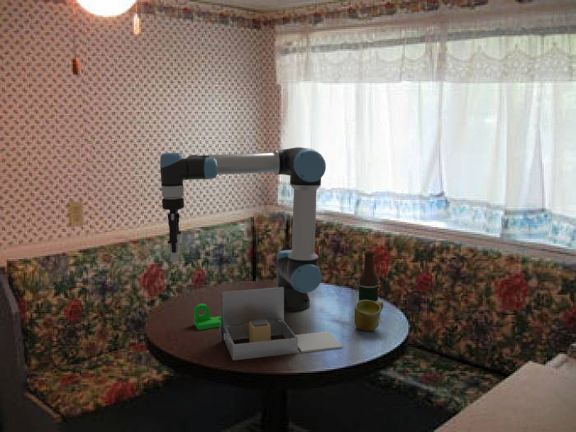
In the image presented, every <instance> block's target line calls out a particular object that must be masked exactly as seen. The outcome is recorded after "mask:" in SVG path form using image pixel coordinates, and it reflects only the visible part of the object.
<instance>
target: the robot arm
mask: <svg viewBox="0 0 576 432" xmlns="http://www.w3.org/2000/svg"><path fill="white" fill-rule="evenodd" d="M159 160H160V161H159V162H160V165H159V168H160V169H159V170H160V183H161V184H160V185H161V186H160V187H161V188H159V191H160V192H161V197H162V199H161V207H162V209H163V210H166V211H167V210H168V211H169V213H167V221H168V222H167V223H168V229H169V232H168V233H169V234H168V235H169V239H168V240H167V244H169V256H170V259H169V260H170V263H171V262H173V263H174V262H175V263H176V262H179V259H180V258H179V253H181V242H180V235H181V234H182V231H181V230H180V225H179V224H180V218H181V217H180V215H181V214H180V212H179V210H183V209H184V208H185V198H184V194H185V193H184V189H185V188H184V181H189V180H212V179H216V178H217V177H218V175H238V174H239V175H241V174H242V175H243V174H263V173H264V174H265V173H266V174H267V173H273V174H274V175H279V176H280V175H283V176H289V185H290V186H291V187H292V189H293V202H292V203H293V204H292V233H291V234H292V238H291V239H292V241H291V243H292V245H291V249H284V250H280V251H278V252H277V254H276V280H277V281H276V287H284V312H285V311H287V312H299V311H303V310H307V309H309V308H310V306H311V300H310V296H309V293H312V292H314V291H315V290H316V289H317V288H318V287H319V286H320V284H321V283H322V277H323V275H322V274H323V273H322V271H321V269H320V268H319V255H318V254H316V251H315V246H316V244H315V242H316V221H317V220H316V218H317V217H316V216H317V194H318V192H317V191H318V189H319V188H321V186H322V177H324V175H325V174H326V167H327V165H326V160H325V157H324V156H323V155H322V153H321V152H319V151H317V150H316V149H313V148H310V147H309V148H308V147H307V148H306V147H299V146H298V147H297V146H296V147H291V148H290V147H289V148H283V149H274V150H273V151H272V152H256V153H233V154H231V153H230V154H229V153H228V154H226V153H225V154H208V155H207V154H205V155H204V154H203V155H197V154H191V155H188V156H187V157H185V158H184V157H183V154H182V153H181V152H165V153H162V154H161V155H160V159H159Z"/></svg>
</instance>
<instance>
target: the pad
mask: <svg viewBox="0 0 576 432" xmlns="http://www.w3.org/2000/svg"><path fill="white" fill-rule="evenodd" d="M295 335H296V337H297V338H298V350H299V351H300V352H301V353H302V354H303V353H311V352H319V351H327V350H337V349H338V350H339V349H343V345H342V344H341V342H339V341H338V340H337V339H336V338H335V337H334V336H333V335H332V334H331V332H330V331H329V330H328V331H321V332H320V331H319V332H312V333H311V332H310V333H301V334H300V333H299V334H295Z"/></svg>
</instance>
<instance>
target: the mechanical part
mask: <svg viewBox="0 0 576 432" xmlns="http://www.w3.org/2000/svg"><path fill="white" fill-rule="evenodd" d="M202 310H204V313H202V314H200V312H201V311H202ZM193 323H194V327H196V329H197V330H198V331H202V330H206V329H207V330H208V329H215V328H219V327H221V318H220V315H218V316H212V317H211V311H210V308H209V306H208V305H206V304H205V303H198V304H197V305H196V306H195V307H194V308H193Z"/></svg>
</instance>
